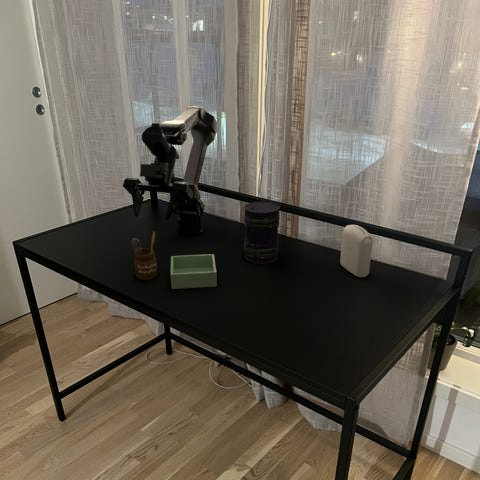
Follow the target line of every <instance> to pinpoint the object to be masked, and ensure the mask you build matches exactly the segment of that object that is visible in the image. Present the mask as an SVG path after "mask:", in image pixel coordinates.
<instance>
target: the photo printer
mask: <svg viewBox="0 0 480 480" xmlns="http://www.w3.org/2000/svg"><path fill="white" fill-rule="evenodd" d="M373 242H374V240H373V237H372V236H371V234H370V233H369V231H367V230H366V228H364V227H362V226H360V225H357V224H348V225H346V226H345V227H344V228H343V230H342V236H341V248H340V258H339V260H340V261H339V262H340V263H339V264H340V266H341V267H342V268H344V269H345V270H346V271H348V272H349V273H351V275H354V276H355V277H358V278H365V277H367V276H368V275H369V274H370V269H371V268H370V267H371V261H372V260H371V259H372V253H373V252H372V251H373Z"/></svg>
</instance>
